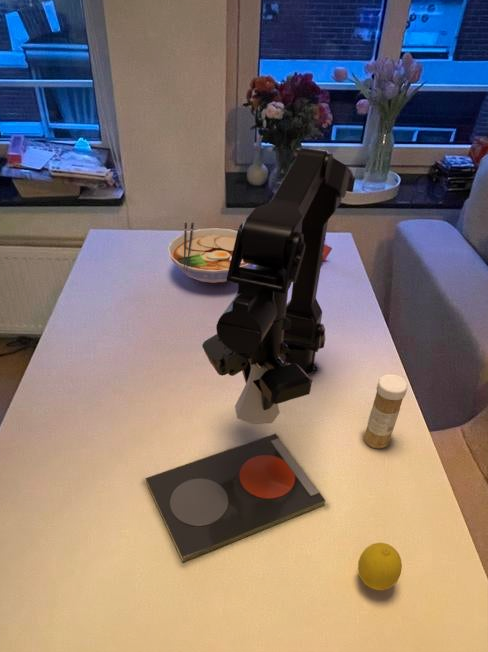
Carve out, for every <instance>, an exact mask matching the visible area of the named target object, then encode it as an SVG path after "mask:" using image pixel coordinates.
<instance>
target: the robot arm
mask: <svg viewBox="0 0 488 652" xmlns="http://www.w3.org/2000/svg"><path fill="white" fill-rule="evenodd" d="M349 181H350V172H349V168H348V166H347V165H346V164H344V163H342V162H341V161H340V160H338V159H337V158H335V157H334V155H333V153H332V152H329V151H328V150H325V149H318V148H312V147H311V148H310V147H304V146H303V147H300V148H296V149H295V151H294V153H293V156H292V162H291V165H290V166H289V169H288V171H287V172H286V174H285V176H284V177H283V179H282V180H281V182H280V184H279V186H278V187H277V189H276V191H275V193H274V195H273V196H272V198H271V200H270V201H269V202H267V203H264V204H261V205H259V206H256V207H254V208H253V210H252V211H251V212H250V213H249V214H248V216H246V218H245V220H244V222H242V223H241V224H239V226H238V230H237V231H238V232H237V236H236V240H235V245H234V249H233V253H232V258H231V262H230V266H229V270H228V275H227V281H226V282H227V283H228V282H229V283H232V284H237V291H236V292H237V293H236V294H235V296H234V297H233V299H232V300H231V302H230V303H229V304H228V306H227V307H226V309H225V310H224V311H223V313H222V314H221V316H220V317H219V318H218V321H217V323H216V326H215V327H216V328H215V329H216V334H214V335H212V336H211V337H209V338H207V339H206V340H204V341H203V342H202V345H201V346H202V349H203V351H204V353H205V355H206V357H207V359H208V362H209V363H210V364H211V365H212V367H213V368H214V370H215V372H216V373H217V374H218V375H219V376H226V375H228V376H231V377H233V376H236V375H237V374H239V373H241V372H242V374H243V378H244V383H245V384H246V383H247V381H248V378H249V374H250V371H251V365H253V364H257V365H258V367H259V368H263V367H266V368H267V371H266V372H265V373H264V374H263V375H262V376H261V377H260V379H258V380H254V381H253V382H254V384H255V385H256V386H257V388H258V389H259V390H260V391H261V396H262V406H263V409H264V410H267V409H270V408H271V407H272V406H273V404H278V405H279V404H281V403H284V402H285V403H286V402H288V401H291V400H294V399H298V398H301V397H305V396H307V395H310V393H311V390H312V385H313V379H312V378H311V377H310V376H309V374H311V373H314V372H318V370H319V367H318V366H317V365H316V364H315V359H316V353H318V352H319V350H320V349H324V347H325V344H326V343H325V342H326V328H325V325H324V323H322V317H323V310H322V308H321V306H320V303H319V301H318V300H317V292H318V286H319V280H320V274H321V267H322V256H323V249H324V243H325V241H326V238H327V237H326V236H327V230H328V224H329V219H330V218H331V217H332V216H333V215H334V213H335V212H336V210H337V209H338V208H339V206H340V205H341V203H342V199H344V198H345V197H346V194H347V191H348V187H349ZM325 244H326V243H325ZM242 259H243V262H244V263H248V264H253V265H254V267H253V268H249V269H248V268H243V267H240V264H241V261H242ZM253 265H252V266H253ZM291 286H292V287H291ZM290 288H291V295H290V300H289V301H288V297H289V290H290ZM250 364H251V365H250Z"/></svg>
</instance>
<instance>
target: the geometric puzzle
mask: <svg viewBox="0 0 488 652" xmlns="http://www.w3.org/2000/svg"><path fill="white" fill-rule="evenodd" d="M331 251H333V247H332V246H331V244H329V245H328V244H327V241H326V240H325V243H324V249H323V256H322V262H326V260H327V258H328V256H329V255H330V253H331ZM322 262H321V263H322Z"/></svg>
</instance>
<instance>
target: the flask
mask: <svg viewBox="0 0 488 652" xmlns="http://www.w3.org/2000/svg"><path fill="white" fill-rule="evenodd" d="M250 365H251V364H250ZM266 371H267V368H266V367H263V368H259V367H258V365H257V364H253V365H251V371H250V374H249V378H248V381H247V383H246V382H245V385H244V387H243V389H242V392H241V393H240V395H239V397H238V399H237V401H236V403H235V405H234V410H235V414H236V418H237V419H238V420H241V421H243V422H245V423H248V424H251V425H253V426H256V425H269V424H273V422H275V420H276V419H277V417H278V416H279V415H280V413H281V411H280V407H279V404H273V406H272V407H271V408H270V409H267V410H264V409H263V406H262V396H261V391H260V390H259V389H258V388H257V386H256V385H255V384H254V382H253V381H254V380H258V379H260V377H261V376H262V375H263V374H264V373H265V372H266Z"/></svg>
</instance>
